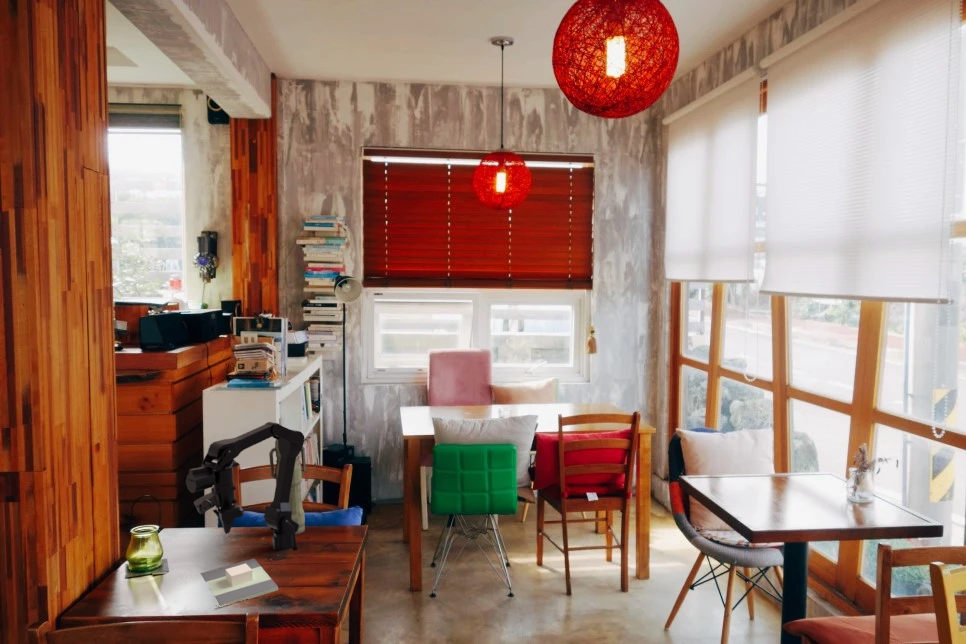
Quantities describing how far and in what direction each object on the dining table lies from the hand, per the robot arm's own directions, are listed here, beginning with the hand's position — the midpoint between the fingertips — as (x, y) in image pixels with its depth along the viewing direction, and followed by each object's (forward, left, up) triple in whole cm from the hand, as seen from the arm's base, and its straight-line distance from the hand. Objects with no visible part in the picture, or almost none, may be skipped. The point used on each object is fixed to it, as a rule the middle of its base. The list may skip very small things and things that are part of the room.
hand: (227, 533), depth 206 cm
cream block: (-1, +9, -12) cm, 15 cm away
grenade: (-26, -20, -13) cm, 35 cm away
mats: (0, +9, -13) cm, 15 cm away
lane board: (0, +9, -13) cm, 15 cm away
